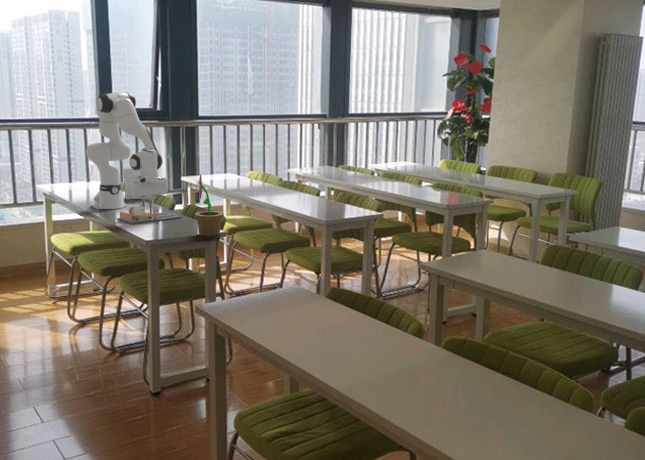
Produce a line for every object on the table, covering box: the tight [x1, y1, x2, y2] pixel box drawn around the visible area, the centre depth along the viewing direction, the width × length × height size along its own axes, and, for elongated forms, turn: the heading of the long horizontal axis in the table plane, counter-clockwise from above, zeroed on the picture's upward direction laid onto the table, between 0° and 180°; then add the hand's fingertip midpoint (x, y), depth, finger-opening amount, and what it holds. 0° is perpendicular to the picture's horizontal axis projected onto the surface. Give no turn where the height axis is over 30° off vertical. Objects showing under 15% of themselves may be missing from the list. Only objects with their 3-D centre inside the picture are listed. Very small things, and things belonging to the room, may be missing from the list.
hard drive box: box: [123, 167, 152, 200], centre depth 457 cm, size 16×8×20 cm, turn 84°
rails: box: [133, 211, 176, 221], centre depth 392 cm, size 8×28×1 cm, turn 132°
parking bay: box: [119, 202, 157, 222], centre depth 386 cm, size 16×15×7 cm
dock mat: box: [116, 212, 182, 226], centre depth 392 cm, size 17×30×1 cm, turn 132°
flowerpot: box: [194, 173, 224, 237], centre depth 353 cm, size 14×14×30 cm
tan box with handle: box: [128, 198, 154, 220], centre depth 387 cm, size 10×11×10 cm
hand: (150, 202), depth 391 cm, fingers closed
